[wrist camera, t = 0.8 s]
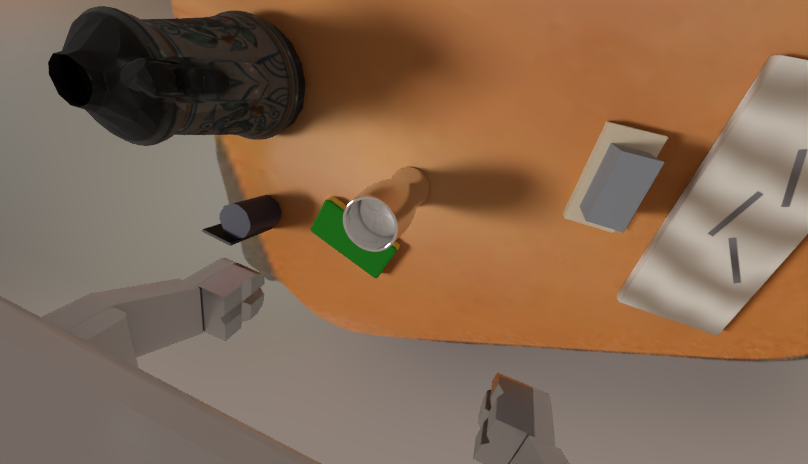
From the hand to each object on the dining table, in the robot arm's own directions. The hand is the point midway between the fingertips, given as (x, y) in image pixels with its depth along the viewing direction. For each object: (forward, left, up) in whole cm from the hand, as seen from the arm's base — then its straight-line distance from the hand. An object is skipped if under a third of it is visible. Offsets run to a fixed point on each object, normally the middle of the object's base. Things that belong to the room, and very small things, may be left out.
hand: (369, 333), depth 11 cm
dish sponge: (+20, -16, -39) cm, 46 cm away
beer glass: (+9, -9, -38) cm, 40 cm away
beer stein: (-1, -34, -38) cm, 51 cm away
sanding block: (0, +15, -38) cm, 41 cm away
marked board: (0, +29, -38) cm, 48 cm away
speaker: (+21, -34, -38) cm, 55 cm away
